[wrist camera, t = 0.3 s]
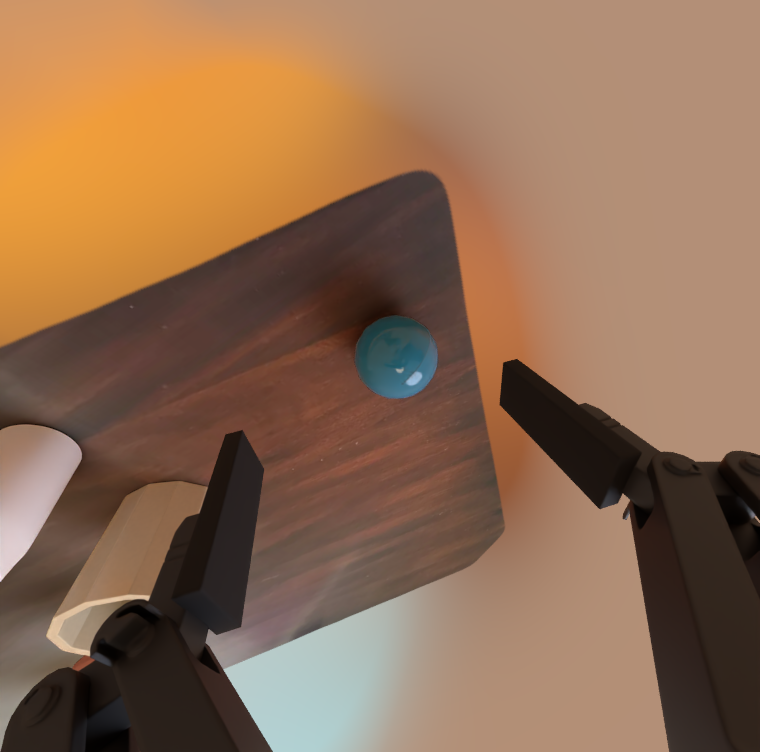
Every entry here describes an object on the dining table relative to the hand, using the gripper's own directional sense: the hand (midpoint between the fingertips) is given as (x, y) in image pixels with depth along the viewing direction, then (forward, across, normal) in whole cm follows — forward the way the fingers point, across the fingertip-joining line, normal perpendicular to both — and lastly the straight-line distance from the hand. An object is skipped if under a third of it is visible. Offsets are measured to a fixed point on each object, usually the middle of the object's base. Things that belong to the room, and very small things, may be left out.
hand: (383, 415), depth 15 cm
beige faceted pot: (+17, -26, -21) cm, 38 cm away
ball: (+17, +4, -4) cm, 18 cm away
